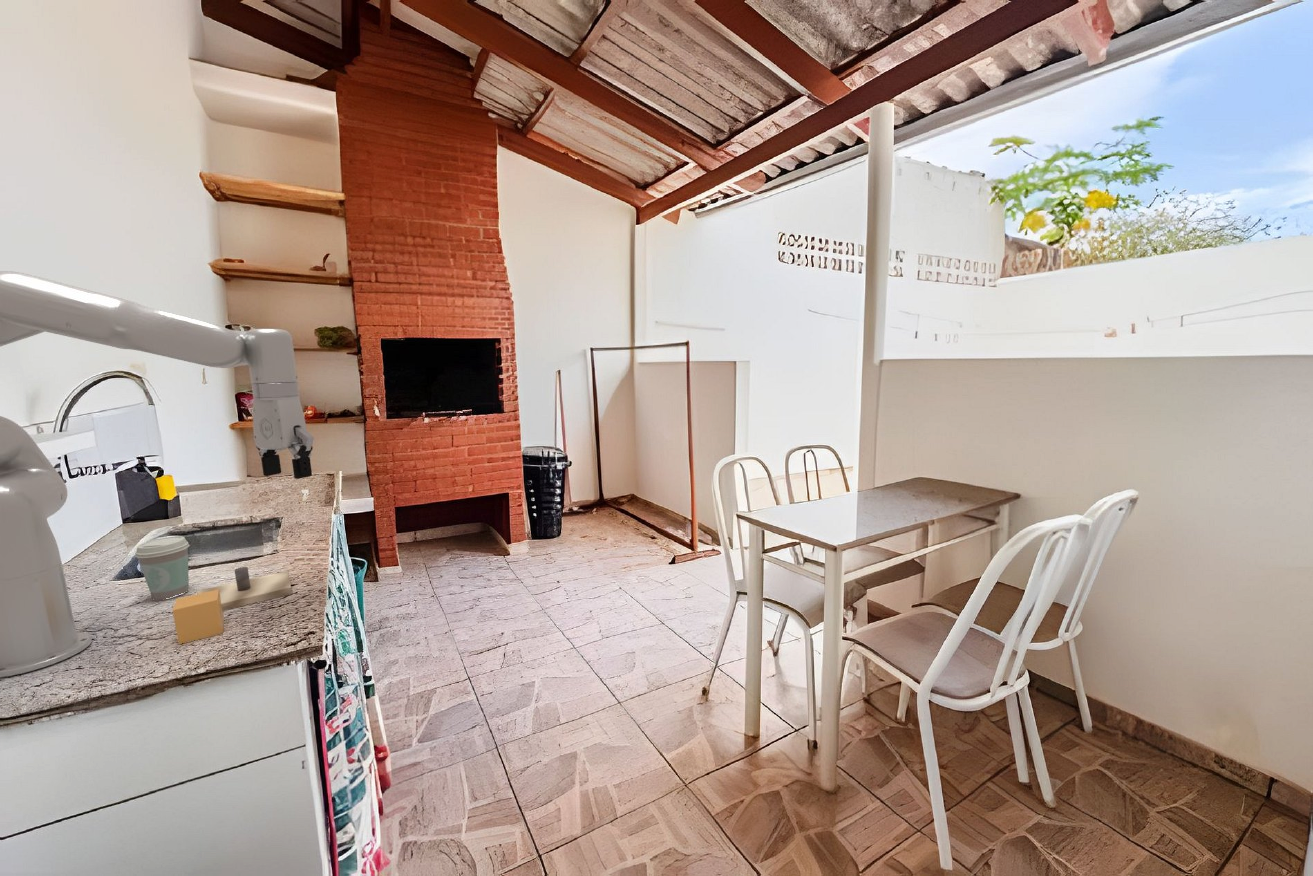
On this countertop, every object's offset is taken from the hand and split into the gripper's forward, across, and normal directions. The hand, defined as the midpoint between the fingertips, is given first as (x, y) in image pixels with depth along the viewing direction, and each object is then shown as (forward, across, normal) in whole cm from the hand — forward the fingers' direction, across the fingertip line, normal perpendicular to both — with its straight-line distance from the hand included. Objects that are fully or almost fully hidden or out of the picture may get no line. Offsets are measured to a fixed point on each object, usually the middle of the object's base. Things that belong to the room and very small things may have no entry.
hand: (287, 476), depth 106 cm
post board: (+26, -13, -4) cm, 30 cm away
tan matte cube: (+26, -3, -17) cm, 31 cm away
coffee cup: (+26, -30, -9) cm, 41 cm away
